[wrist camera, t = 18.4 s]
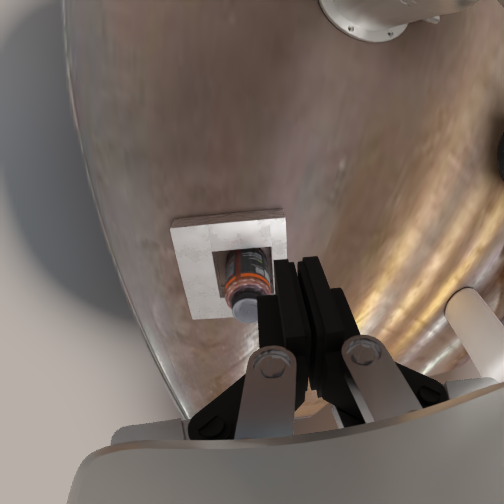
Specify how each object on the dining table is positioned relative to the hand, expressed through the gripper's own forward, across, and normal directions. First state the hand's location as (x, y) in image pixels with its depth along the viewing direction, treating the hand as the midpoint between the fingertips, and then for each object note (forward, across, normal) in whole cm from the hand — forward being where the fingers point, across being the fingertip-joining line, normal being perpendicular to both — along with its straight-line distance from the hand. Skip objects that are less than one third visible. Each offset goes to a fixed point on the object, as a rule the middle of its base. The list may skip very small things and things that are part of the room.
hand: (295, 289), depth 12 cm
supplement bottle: (+29, +3, +17) cm, 34 cm away
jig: (+29, +5, +17) cm, 34 cm away
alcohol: (+29, -40, +32) cm, 59 cm away
